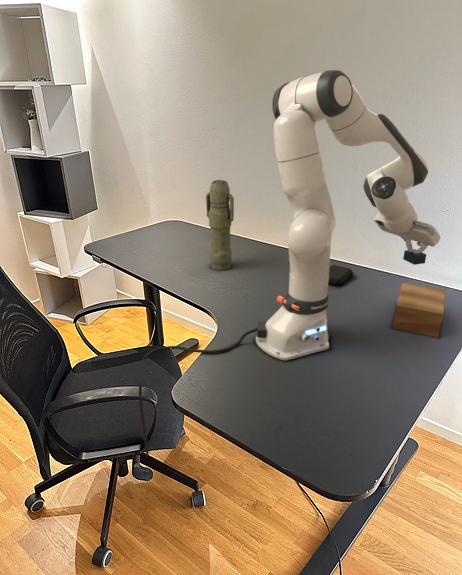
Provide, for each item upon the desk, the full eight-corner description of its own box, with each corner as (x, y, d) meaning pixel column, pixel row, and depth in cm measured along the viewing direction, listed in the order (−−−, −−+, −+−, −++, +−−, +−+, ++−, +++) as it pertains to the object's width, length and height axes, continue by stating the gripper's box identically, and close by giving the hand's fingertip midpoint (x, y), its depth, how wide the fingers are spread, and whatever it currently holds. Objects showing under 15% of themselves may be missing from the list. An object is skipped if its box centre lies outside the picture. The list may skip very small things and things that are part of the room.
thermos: (212, 260, 188) (210, 177, 173) (238, 264, 183) (238, 180, 168) (203, 267, 181) (200, 182, 166) (229, 272, 176) (228, 184, 161)
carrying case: (341, 289, 161) (356, 275, 172) (342, 281, 160) (357, 268, 171) (315, 282, 167) (331, 269, 178) (316, 274, 166) (332, 262, 177)
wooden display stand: (438, 337, 131) (443, 313, 127) (392, 328, 136) (396, 305, 132) (439, 311, 146) (444, 289, 142) (398, 303, 151) (402, 282, 147)
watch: (429, 262, 146) (435, 230, 142) (409, 265, 144) (415, 233, 140) (418, 257, 151) (424, 226, 147) (398, 259, 149) (403, 228, 144)
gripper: (437, 218, 128) (449, 243, 137) (380, 203, 143) (394, 227, 152) (425, 235, 127) (438, 259, 137) (369, 218, 143) (384, 241, 152)
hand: (414, 242), depth 145 cm, fingers closed on watch, 4 cm apart
